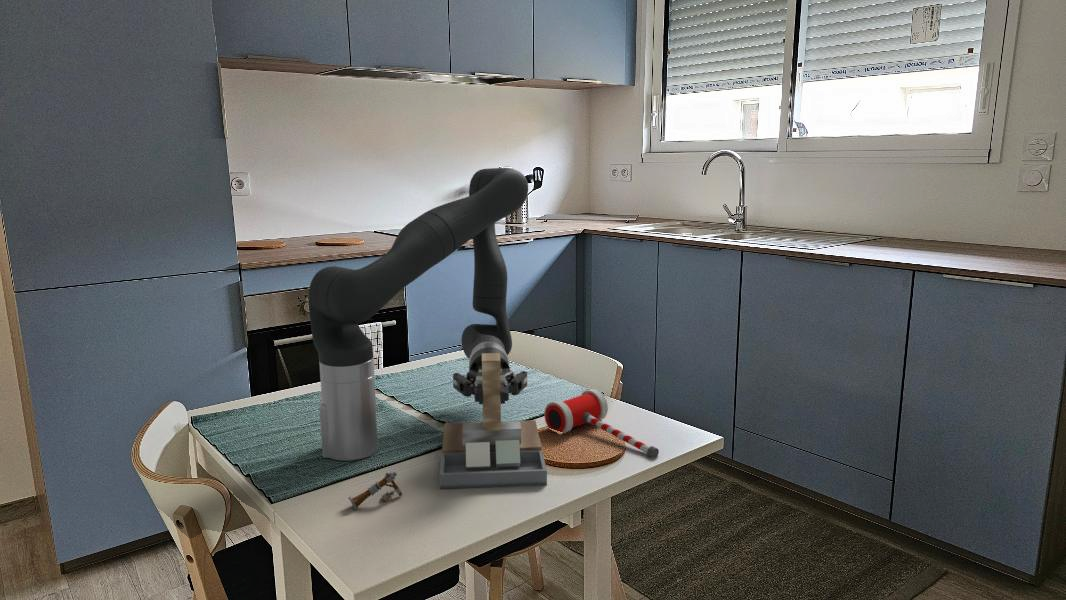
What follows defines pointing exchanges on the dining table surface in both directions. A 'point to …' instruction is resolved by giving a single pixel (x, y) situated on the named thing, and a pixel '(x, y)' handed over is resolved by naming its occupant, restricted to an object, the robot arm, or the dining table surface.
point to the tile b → (507, 453)
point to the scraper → (491, 408)
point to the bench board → (455, 445)
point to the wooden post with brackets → (374, 488)
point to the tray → (492, 472)
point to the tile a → (478, 455)
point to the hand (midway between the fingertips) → (492, 398)
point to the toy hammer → (588, 417)
